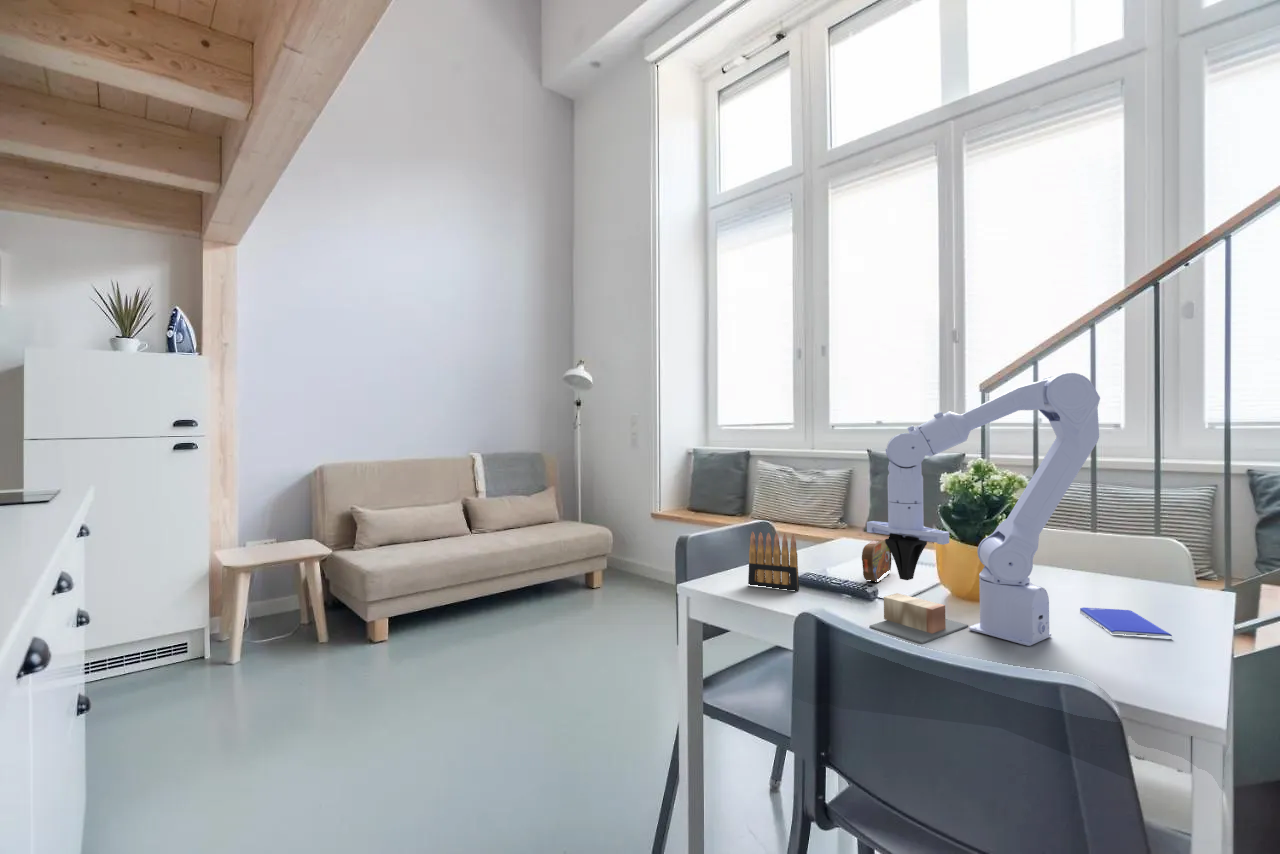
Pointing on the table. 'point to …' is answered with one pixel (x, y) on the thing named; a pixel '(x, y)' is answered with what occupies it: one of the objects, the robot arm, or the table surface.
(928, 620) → the block
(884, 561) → the tin
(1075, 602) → the table surface
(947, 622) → the mat
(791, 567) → the ammunition clip
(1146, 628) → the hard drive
